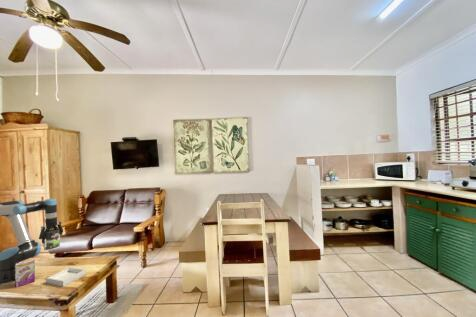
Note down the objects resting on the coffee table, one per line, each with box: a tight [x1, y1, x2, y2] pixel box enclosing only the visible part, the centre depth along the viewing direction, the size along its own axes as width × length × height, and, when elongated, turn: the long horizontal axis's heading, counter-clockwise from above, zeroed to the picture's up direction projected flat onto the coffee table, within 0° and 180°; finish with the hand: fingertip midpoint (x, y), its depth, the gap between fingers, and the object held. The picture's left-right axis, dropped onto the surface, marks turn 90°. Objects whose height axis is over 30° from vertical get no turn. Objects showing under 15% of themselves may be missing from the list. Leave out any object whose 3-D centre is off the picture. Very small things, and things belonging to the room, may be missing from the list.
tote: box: [45, 266, 87, 287], centre depth 180 cm, size 18×18×4 cm
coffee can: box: [43, 228, 61, 251], centre depth 186 cm, size 10×10×14 cm
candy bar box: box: [14, 259, 36, 288], centre depth 174 cm, size 11×5×16 cm, turn 131°
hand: (51, 244), depth 186 cm, fingers closed on coffee can, 10 cm apart
